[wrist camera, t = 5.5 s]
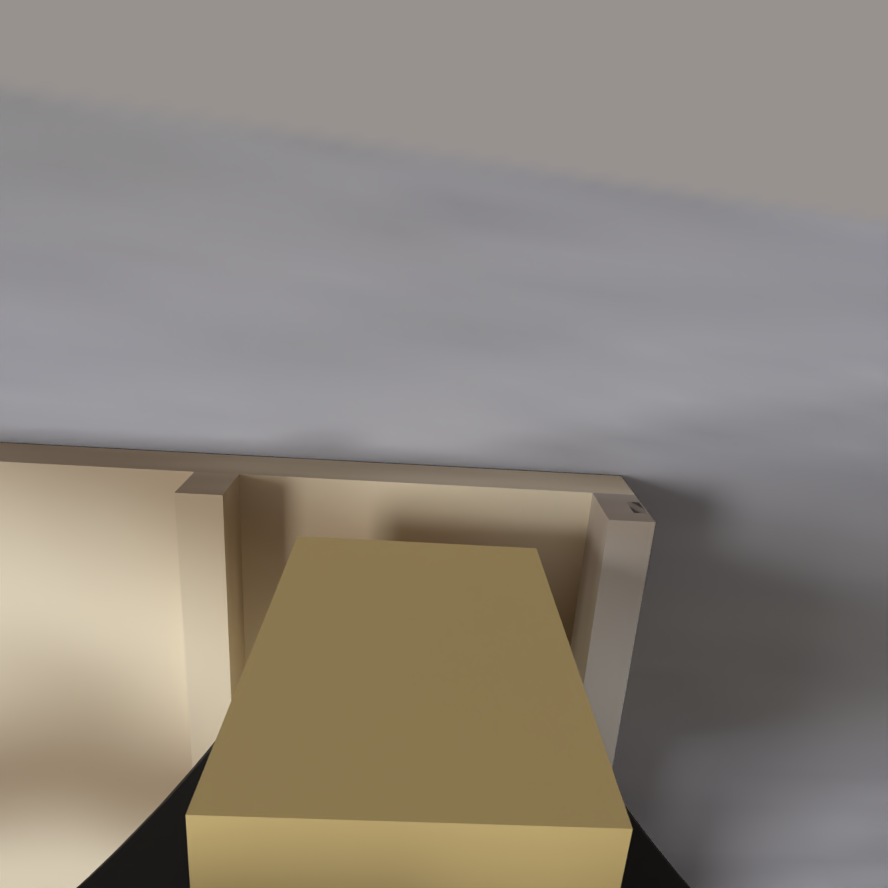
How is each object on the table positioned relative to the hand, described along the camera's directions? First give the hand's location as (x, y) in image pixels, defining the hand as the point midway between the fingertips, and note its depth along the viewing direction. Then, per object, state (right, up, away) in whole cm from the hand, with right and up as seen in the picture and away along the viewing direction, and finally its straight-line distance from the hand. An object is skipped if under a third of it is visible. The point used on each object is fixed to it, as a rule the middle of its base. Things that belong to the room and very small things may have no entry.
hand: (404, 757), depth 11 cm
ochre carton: (0, 0, +1) cm, 1 cm away
